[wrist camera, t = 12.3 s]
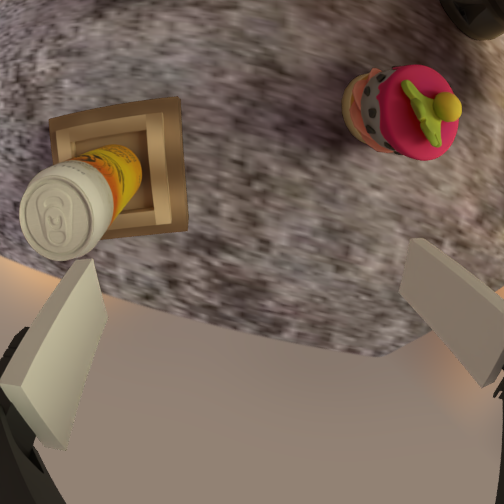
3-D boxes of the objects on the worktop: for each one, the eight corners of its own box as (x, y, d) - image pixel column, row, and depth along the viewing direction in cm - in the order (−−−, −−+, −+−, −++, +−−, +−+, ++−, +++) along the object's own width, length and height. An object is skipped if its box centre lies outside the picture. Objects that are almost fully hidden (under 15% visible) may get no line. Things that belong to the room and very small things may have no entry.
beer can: (143, 142, 29) (96, 166, 15) (143, 201, 31) (104, 268, 18) (87, 144, 28) (9, 172, 14) (89, 202, 30) (22, 265, 17)
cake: (372, 55, 33) (451, 39, 19) (418, 114, 37) (499, 126, 23) (322, 105, 35) (390, 105, 21) (374, 164, 39) (450, 194, 25)
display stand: (66, 117, 30) (42, 119, 24) (180, 99, 32) (176, 95, 26) (81, 228, 36) (63, 248, 30) (188, 216, 38) (187, 236, 32)
